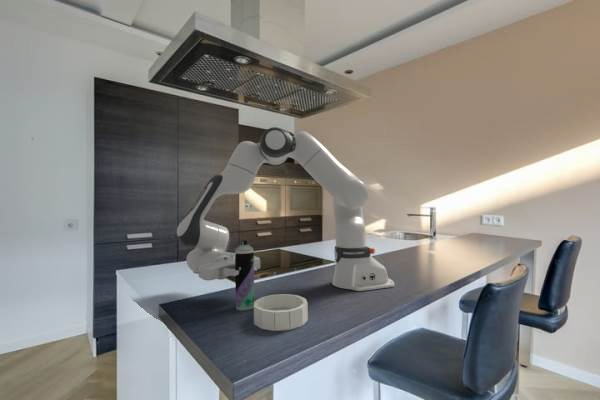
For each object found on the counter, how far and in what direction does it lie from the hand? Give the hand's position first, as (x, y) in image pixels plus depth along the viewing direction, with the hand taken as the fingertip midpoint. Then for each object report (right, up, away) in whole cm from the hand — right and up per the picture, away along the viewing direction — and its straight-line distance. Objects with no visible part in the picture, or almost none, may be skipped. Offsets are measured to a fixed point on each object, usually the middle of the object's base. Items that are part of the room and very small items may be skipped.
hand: (246, 270), depth 88 cm
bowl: (+11, -11, -9) cm, 18 cm away
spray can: (0, -11, 0) cm, 11 cm away
